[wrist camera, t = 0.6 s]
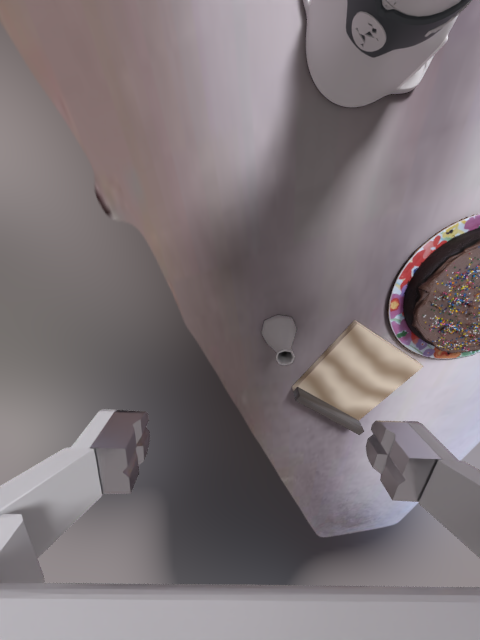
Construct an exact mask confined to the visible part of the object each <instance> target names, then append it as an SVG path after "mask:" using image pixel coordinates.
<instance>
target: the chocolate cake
mask: <svg viewBox="0 0 480 640" xmlns="http://www.w3.org/2000/svg"><path fill="white" fill-rule="evenodd" d="M388 304H389V308H388V309H387V311H388V317H389V324H390V327H391V329H392V331H393V332H394V334H395V337H396V339H397V340H398V341H399V343H401V344H402V345H403V346H404V347H405V348H407V349H409V351H412V352H413V353H416V354H419V355H421V356H425V357H429V358H435V359H456V358H460V357H466V356H470V355H474V354H476V353H479V352H480V214H477V215H472V216H471V217H466V218H464V219H461V220H459V221H458V222H455V223H453V224H451V225H450V226H448V227H446V228H444V229H442V230H441V231H439V232H438V233H436V234H435V235H434V236H433V237H432V238H430V239H429V240H428V241H427V242H425V243H424V244H423V245H422V246H421V247H419V248H418V249H417V250H416V251H415V252H414V254H413V256H412V257H411V258H410V259H409V260H408V262H407V263H406V265H405V266H404V267H403V268H402V269H401V270H400V272H399V274H398V277H397V280H396V282H395V285H394V287H393V290H392V293H391V296H390V301H389V303H388Z"/></svg>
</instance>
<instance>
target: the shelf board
mask: <svg viewBox="0 0 480 640" xmlns="http://www.w3.org/2000/svg"><path fill="white" fill-rule="evenodd" d="M422 367H423V366H422V365H421V364H420V363H419V362H418V361H416V360H415V359H413V358H412V357H410V356H409V355H407V354H406V353H404V352H402V351H401V350H399V349H398V348H396V347H395V346H393V345H392V344H390V343H389V342H387V341H386V340H384V339H383V338H381V337H380V336H378V335H377V334H375V333H374V332H372V331H371V330H369V329H368V328H366V327H365V326H363V325H361V324H360V323H358V322H357V321H355V320H354V321H353V322H352V323H351V324H350V325H349V326H348V328H347V329H346V330H345V331H344V332H343V333H342V334H341V335H340V336H339V337H338V338H337V339H336V340H335V341H334V342H333V344H332V345H331V346H330V347H329V348H328V349H327V350H326V351H325V352H324V353H323V354H322V355H321V356H320V357H319V358H318V360H317V361H316V362H315V363H314V364H313V365H312V366H311V367H310V368H309V369H308V370H307V371H306V372H305V373H304V374H303V376H302V377H301V378H300V379H299V380H298V381H297V382H296V383H295V384H294V385H293V386H292V388H293V392H294V396H295V400H296V401H297V402H299V403H301V404H302V405H304V406H306V407H308V408H310V409H312V410H314V411H316V412H317V413H319V414H321V415H323V416H325V417H327V418H329V419H330V420H332V421H334V422H336V423H338V424H340V425H342V426H343V427H345V428H347V429H349V430H351V431H353V432H355V433H356V434H358V435H360V434H361V433H363V432H364V430H363V428H362V426H361V424H360V422H359V420H360V419H361V418H362V417H364V416H365V415H366V414H367V413H368V412H370V411H371V410H372V409H373V408H374V407H376V406H377V405H378V404H379V403H380V402H381V401H383V400H384V399H385V398H386V397H387V396H389V395H390V394H391V393H392V392H393V391H395V390H396V389H397V388H398V387H399V386H401V385H402V384H403V383H404V382H405V381H407V380H408V379H409V378H410V377H411V376H413V375H414V374H415V373H416V372H417V371H419V370H420V369H421V368H422Z"/></svg>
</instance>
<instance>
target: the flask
mask: <svg viewBox="0 0 480 640" xmlns="http://www.w3.org/2000/svg"><path fill="white" fill-rule="evenodd" d="M296 331H297V328H296V325H295V323H294V321H293V319H292V317H288V316H282V315H276V316H273V317H271V318H269V319H266V320H264V323H263V328H262V332H261V333H262V335H263V337H264V339H265V341H266V343H267V344H268V345H269V346H270V347H271V348H272V349H273V350H274V351H276V360H277V362H278V364H279V365H285V366H287V365H289V364H292V363H293V362H294V358H295V355H294V353H293V351H292V350H291V349H292V343H293V340H294V337H295V334H296Z"/></svg>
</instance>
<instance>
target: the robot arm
mask: <svg viewBox="0 0 480 640" xmlns="http://www.w3.org/2000/svg"><path fill="white" fill-rule="evenodd" d="M471 1H472V0H303V3H304V7H305V11H306V15H307V31H306V56H307V62H308V67H309V71H310V74H311V76H312V79H313V81H314V83H315V85H316V86H317V88H318V89H319V91H320V92H321V93H322V94H323V95H324V96H325V97H326V98H327V99H328V100H330V101H331V102H333V103H335V104H337V105H340V106H344V107H360V106H364V105H368V104H370V103H372V102H375V101H376V100H378V99H380V98H382V97H384V96H386V95H389V94H401V93H407V92H410V91H412V90H413V89H414V88H415V87H416V86H417V85H418V84H419V83H420V81H421V79H422V77H423V76H424V74H425V72H426V70H427V68H428V66H429V64H430V62H431V61H432V59H433V57H434V55H435V54H436V53H437V52H438V51H439V50H440V49H441V48H442V47H443V45H444V44H445V43H446V41H447V40H448V33H449V32H450V30H451V28H452V26H453V25H454V23H455V21H456V19H457V17H458V15H459V13H460V12H461V11H462V10H463V9H464V8H466V6H467V5H468V4H469V3H470V2H471ZM148 421H149V419H148V413H147V412H145V411H128V410H108V409H102V410H101V411H99V412H98V413H97V414H96V416H95V417H94V418H93V420H92V421H91V422H90V423H89V425H88V426H87V427H86V428H85V430H84V431H83V432H82V434H81V435H80V436H79V437H78V439H77V440H76V441H75V443H74V444H73V445H72V447H71V448H64V449H63V450H61V451H59V452H57V453H56V454H54V455H52V456H50V457H49V458H47V459H45V460H44V461H42V462H40V463H39V464H37V465H35V466H33V467H32V468H30V469H29V470H27V471H25V472H23V473H21V474H20V475H18V476H16V477H15V478H13V479H11V480H10V481H8V482H6V483H4V484H3V485H1V486H0V640H480V587H402V586H401V587H400V586H395V587H394V586H309V585H306V586H305V585H200V584H97V583H95V584H94V583H44V575H43V573H42V570H41V567H40V564H39V561H38V559H37V558H38V557H39V556H40V555H41V554H43V553H44V552H45V551H46V550H47V549H48V548H49V547H50V546H51V545H52V544H53V543H54V542H55V541H56V540H57V539H58V538H59V537H60V536H61V535H62V534H63V533H64V532H65V531H66V530H67V529H68V528H69V527H70V526H71V525H72V524H74V522H75V521H77V519H79V518H80V517H81V516H82V515H83V514H84V513H85V512H86V511H87V510H88V509H89V508H90V507H91V506H92V505H93V504H94V503H95V502H96V501H97V500H98V499H99V498H100V497H101V496H102V494H130V493H131V492H132V489H133V487H134V484H135V482H136V480H137V477H138V475H139V466H138V465H140V464H141V463H142V462H143V461H144V460H145V457H146V454H147V451H148V447H149V442H150V432H149V430H148V429H147V428H146V426H147V424H148ZM371 430H372V432H373V435H372V436H371V437H369V438H368V440H367V444H366V452H367V457H368V459H369V462H370V463H371V465H372V467H373V468H374V469H375V470H376V471H378V472H379V473H380V474H381V479H380V480H381V482H382V484H383V485H384V487H385V489H386V490H387V492H388V494H389V495H390V497H391V499H392V500H396V501H413V502H419V504H420V505H421V506H422V507H423V508H424V509H425V510H426V511H428V512H429V513H430V514H431V515H432V516H433V517H434V518H436V519H437V520H438V521H439V522H440V523H441V524H442V525H443V526H444V527H445V528H447V529H448V530H449V531H450V532H451V533H452V534H453V535H454V536H456V537H457V538H458V539H459V540H460V541H461V542H462V543H463V544H464V545H465V546H467V547H468V548H469V549H470V550H471V551H472V552H473V553H475V554H476V555H477V556H478V557H479V558H480V470H479V469H477V468H475V467H473V466H472V465H470V464H468V463H466V462H465V461H459V460H458V459H457V458H456V457H455V456H454V455H453V454H452V453H451V452H450V451H449V450H448V449H447V448H446V447H445V446H444V445H443V444H442V443H441V442H440V441H439V440H438V439H437V438H436V437H435V436H434V435H433V434H432V433H431V432H430V431H429V430H428V429H427V428H426V427H425V426H424V425H423V424H421V423H419V422H415V421H403V422H401V421H375V422H374V423H373V424H372V427H371Z"/></svg>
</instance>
